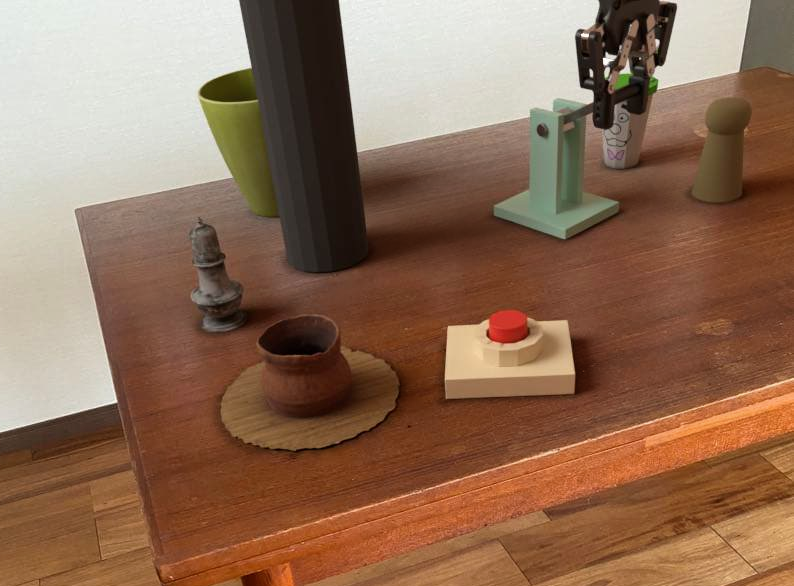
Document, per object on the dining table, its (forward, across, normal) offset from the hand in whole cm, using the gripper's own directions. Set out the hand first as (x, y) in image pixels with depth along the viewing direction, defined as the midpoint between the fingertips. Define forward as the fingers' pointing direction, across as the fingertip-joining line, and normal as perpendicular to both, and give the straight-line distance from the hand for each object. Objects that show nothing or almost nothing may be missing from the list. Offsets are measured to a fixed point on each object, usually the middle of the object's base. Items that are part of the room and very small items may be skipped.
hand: (619, 119), depth 98 cm
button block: (+13, -30, -12) cm, 35 cm away
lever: (+1, 0, +4) cm, 4 cm away
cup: (+13, +18, +13) cm, 26 cm away
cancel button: (+9, -30, -12) cm, 34 cm away
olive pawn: (+13, +17, -3) cm, 21 cm away
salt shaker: (+13, -44, +19) cm, 50 cm away
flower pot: (+13, -21, +41) cm, 48 cm away
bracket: (+13, 0, +9) cm, 16 cm away
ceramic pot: (+13, -46, -1) cm, 48 cm away
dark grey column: (+13, -26, +23) cm, 37 cm away
